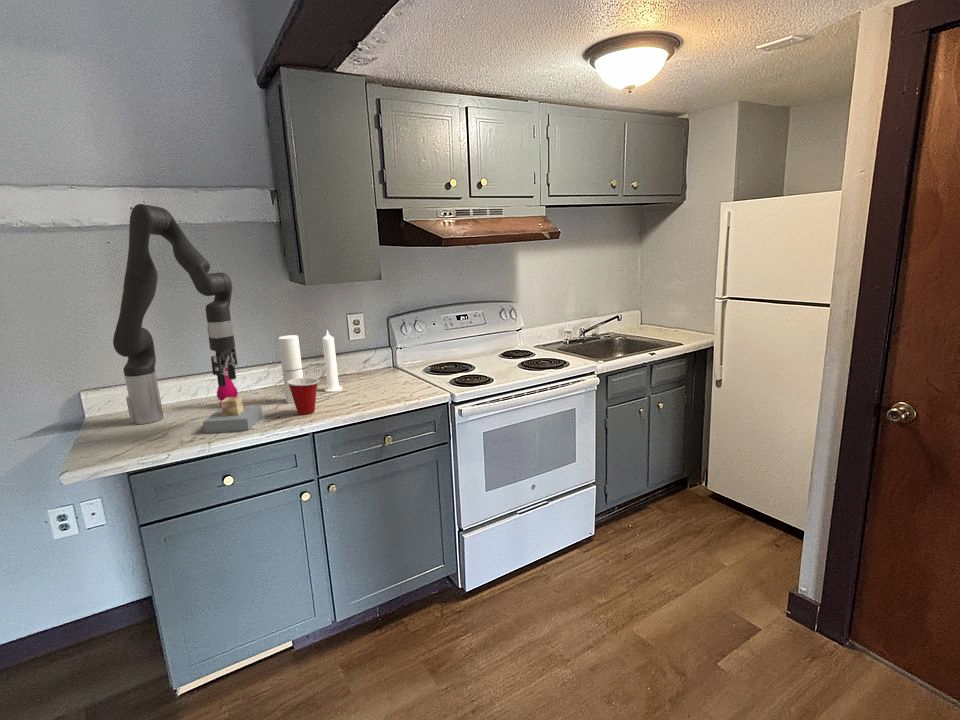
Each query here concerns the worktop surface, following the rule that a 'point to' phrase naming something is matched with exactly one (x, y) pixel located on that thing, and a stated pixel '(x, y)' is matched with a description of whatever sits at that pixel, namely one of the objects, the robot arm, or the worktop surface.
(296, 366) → the cylindrical container
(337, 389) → the candle
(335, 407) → the worktop surface
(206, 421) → the slate plinth
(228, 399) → the oak cube
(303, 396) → the plastic cup
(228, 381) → the pepper mill
